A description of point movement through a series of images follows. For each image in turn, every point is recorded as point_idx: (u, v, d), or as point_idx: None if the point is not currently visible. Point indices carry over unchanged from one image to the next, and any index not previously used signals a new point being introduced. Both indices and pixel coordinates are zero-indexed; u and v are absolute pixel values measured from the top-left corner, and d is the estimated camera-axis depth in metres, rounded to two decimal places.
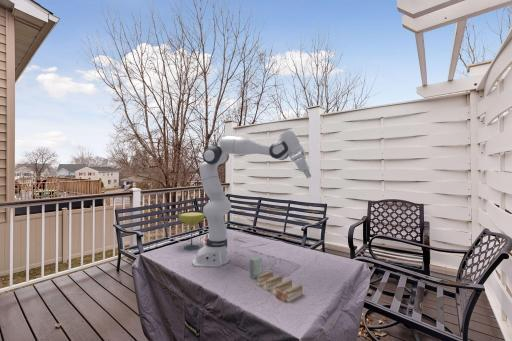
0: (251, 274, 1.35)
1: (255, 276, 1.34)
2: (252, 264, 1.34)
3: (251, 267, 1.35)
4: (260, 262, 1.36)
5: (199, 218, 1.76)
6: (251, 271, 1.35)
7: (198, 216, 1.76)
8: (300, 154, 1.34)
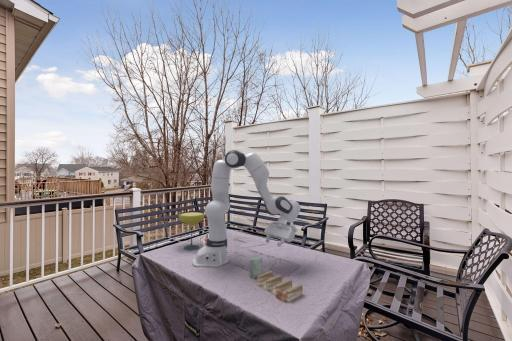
0: (251, 274, 1.35)
1: (255, 276, 1.34)
2: (252, 264, 1.34)
3: (251, 267, 1.35)
4: (260, 262, 1.36)
5: (199, 218, 1.76)
6: (251, 271, 1.35)
7: (198, 216, 1.76)
8: (296, 230, 1.45)
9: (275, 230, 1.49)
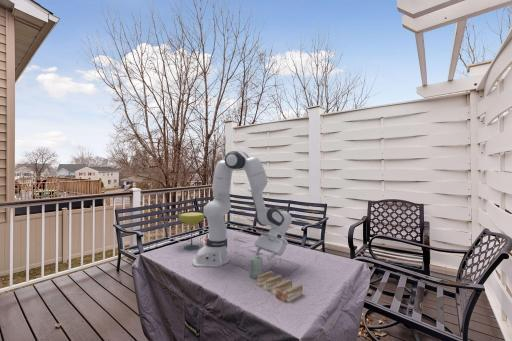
0: (251, 274, 1.35)
1: (255, 276, 1.34)
2: (252, 264, 1.34)
3: (251, 267, 1.35)
4: (260, 262, 1.36)
5: (199, 218, 1.76)
6: (251, 271, 1.35)
7: (198, 216, 1.76)
8: (287, 243, 1.40)
9: (265, 242, 1.44)
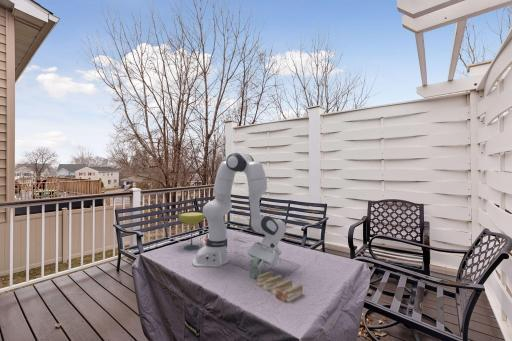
0: (251, 274, 1.35)
1: (255, 276, 1.34)
2: (252, 264, 1.34)
3: (251, 267, 1.35)
4: (260, 262, 1.36)
5: (199, 218, 1.76)
6: (251, 271, 1.35)
7: (198, 216, 1.76)
8: (280, 252, 1.37)
9: (258, 251, 1.40)
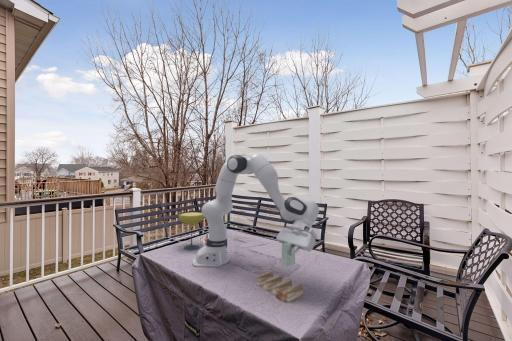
0: (283, 261, 1.17)
1: (288, 264, 1.16)
2: (284, 250, 1.16)
3: (283, 254, 1.17)
4: (293, 248, 1.19)
5: (199, 218, 1.76)
6: (283, 258, 1.17)
7: (198, 216, 1.76)
8: (316, 236, 1.19)
9: (290, 236, 1.22)
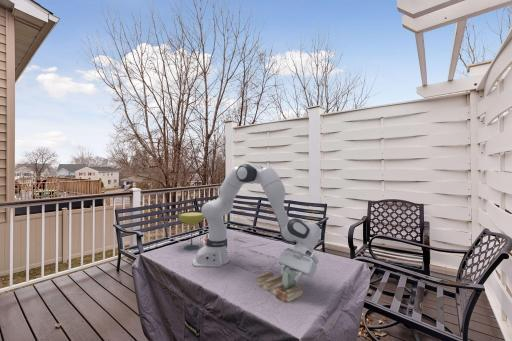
0: (284, 289, 1.16)
1: None
2: (286, 277, 1.15)
3: (284, 281, 1.16)
4: (294, 275, 1.18)
5: (199, 218, 1.76)
6: (284, 285, 1.16)
7: (198, 216, 1.76)
8: (317, 261, 1.18)
9: (291, 259, 1.21)
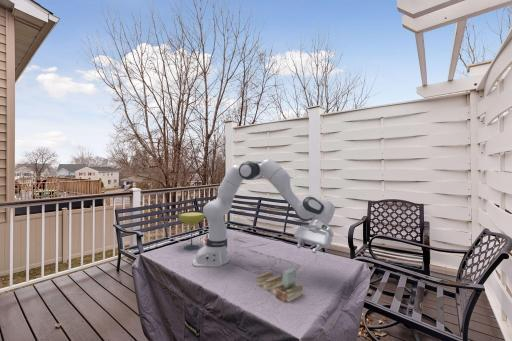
0: (284, 289, 1.16)
1: None
2: (286, 277, 1.15)
3: (284, 281, 1.16)
4: (294, 275, 1.18)
5: (199, 218, 1.76)
6: (284, 285, 1.16)
7: (198, 216, 1.76)
8: (332, 234, 1.26)
9: (308, 234, 1.30)
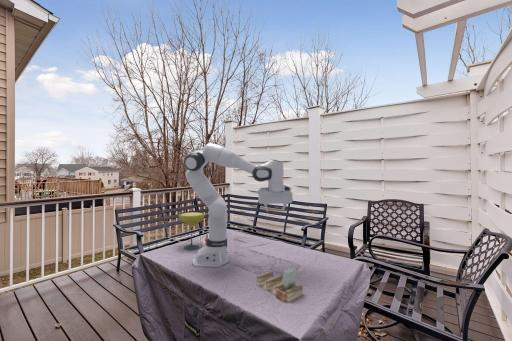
0: (284, 289, 1.16)
1: None
2: (286, 277, 1.15)
3: (284, 281, 1.16)
4: (294, 275, 1.18)
5: (199, 218, 1.76)
6: (284, 285, 1.16)
7: (198, 216, 1.76)
8: None
9: (273, 197, 1.44)
